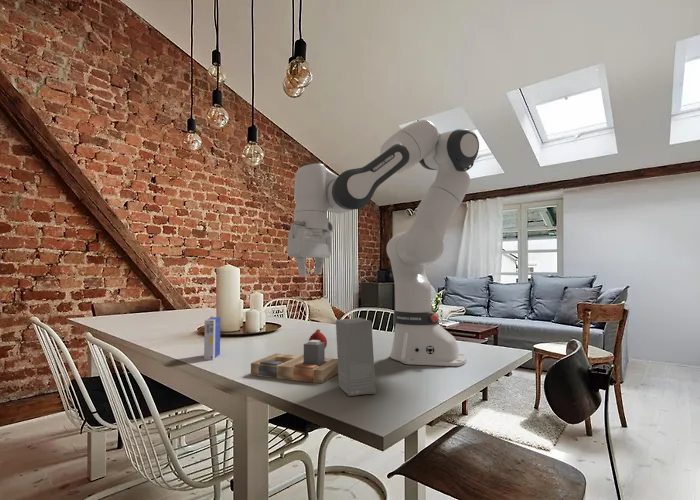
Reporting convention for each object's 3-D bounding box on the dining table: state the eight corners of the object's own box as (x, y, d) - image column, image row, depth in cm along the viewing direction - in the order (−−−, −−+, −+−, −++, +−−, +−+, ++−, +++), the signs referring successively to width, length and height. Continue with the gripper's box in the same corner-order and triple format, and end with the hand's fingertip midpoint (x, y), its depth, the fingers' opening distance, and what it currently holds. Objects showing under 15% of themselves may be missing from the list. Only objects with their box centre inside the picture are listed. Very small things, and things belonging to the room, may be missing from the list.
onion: (319, 357, 119) (319, 331, 119) (304, 355, 122) (304, 329, 122) (330, 354, 124) (330, 328, 124) (315, 352, 127) (315, 327, 127)
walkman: (211, 354, 124) (211, 316, 124) (219, 354, 124) (220, 315, 124) (203, 360, 116) (204, 319, 116) (212, 359, 116) (213, 319, 117)
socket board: (340, 370, 104) (340, 357, 104) (321, 383, 93) (321, 369, 93) (275, 364, 111) (275, 352, 111) (250, 375, 100) (250, 361, 100)
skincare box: (376, 394, 85) (376, 321, 85) (344, 397, 83) (344, 322, 83) (363, 383, 93) (363, 316, 93) (334, 386, 91) (334, 317, 91)
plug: (324, 373, 101) (324, 340, 102) (317, 377, 98) (318, 342, 98) (310, 372, 103) (310, 339, 103) (303, 376, 99) (303, 341, 99)
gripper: (304, 218, 95) (304, 275, 94) (335, 226, 114) (335, 274, 113) (281, 220, 97) (280, 275, 96) (315, 227, 116) (315, 274, 115)
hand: (310, 274), depth 105 cm, fingers open, 8 cm apart
